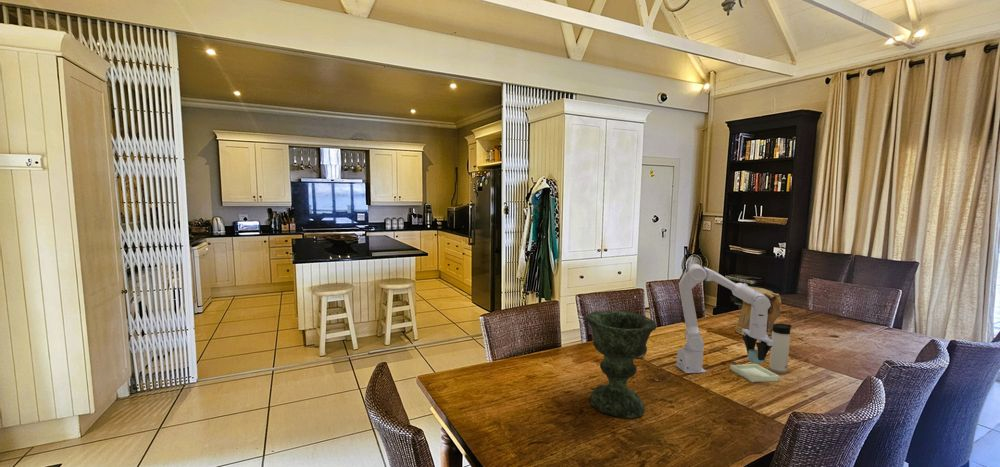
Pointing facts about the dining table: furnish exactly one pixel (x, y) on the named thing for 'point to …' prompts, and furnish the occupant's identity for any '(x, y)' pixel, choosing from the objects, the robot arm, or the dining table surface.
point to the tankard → (772, 313)
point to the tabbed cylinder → (754, 356)
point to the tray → (754, 373)
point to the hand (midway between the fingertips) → (755, 357)
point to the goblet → (619, 359)
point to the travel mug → (780, 348)
